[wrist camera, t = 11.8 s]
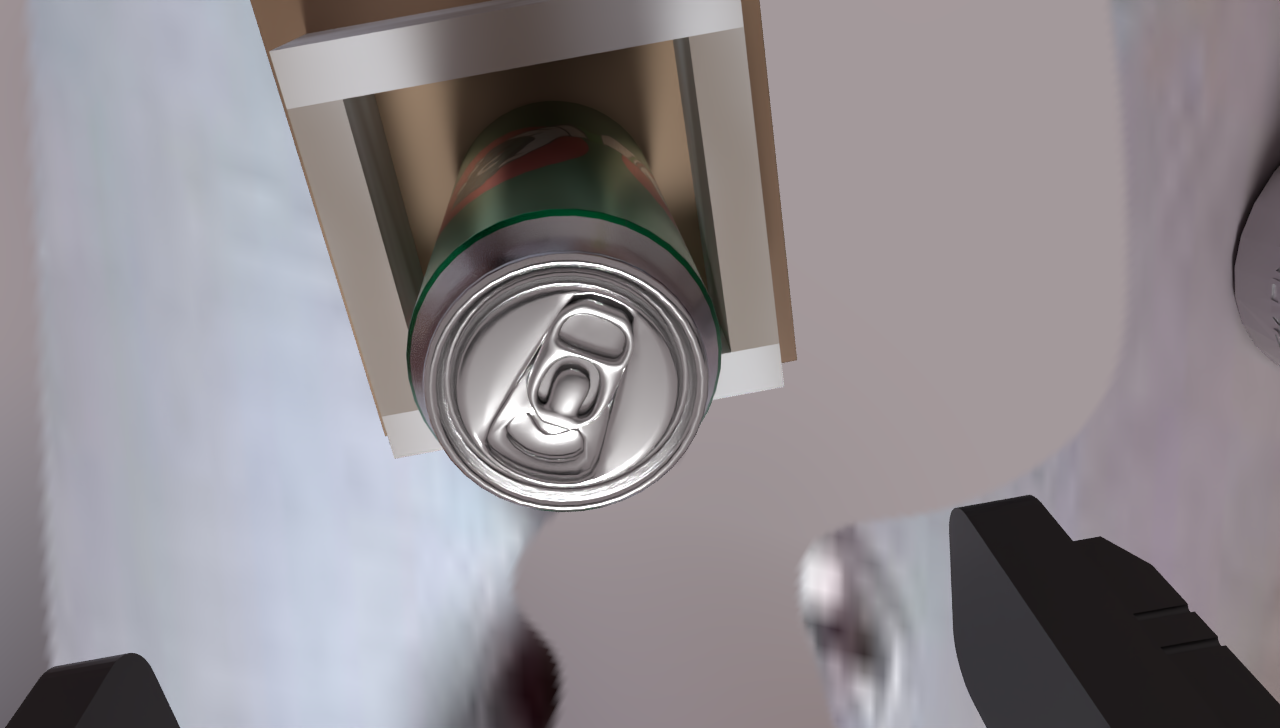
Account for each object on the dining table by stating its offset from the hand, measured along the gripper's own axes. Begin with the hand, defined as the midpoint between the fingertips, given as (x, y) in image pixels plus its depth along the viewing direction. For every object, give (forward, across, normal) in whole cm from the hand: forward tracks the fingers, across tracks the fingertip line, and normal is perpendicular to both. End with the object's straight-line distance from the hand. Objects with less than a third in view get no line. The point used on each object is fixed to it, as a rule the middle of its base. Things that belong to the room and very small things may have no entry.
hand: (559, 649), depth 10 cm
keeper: (+19, 0, 0) cm, 19 cm away
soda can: (+18, 0, 0) cm, 18 cm away
